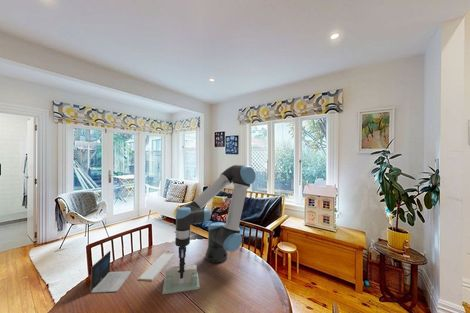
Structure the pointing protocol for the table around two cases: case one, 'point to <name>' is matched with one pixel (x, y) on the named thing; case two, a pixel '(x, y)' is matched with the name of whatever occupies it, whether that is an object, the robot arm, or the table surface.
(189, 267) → the white rectangular block
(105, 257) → the laptop
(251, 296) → the table surface
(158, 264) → the baseboard
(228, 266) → the table surface
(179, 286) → the rack
